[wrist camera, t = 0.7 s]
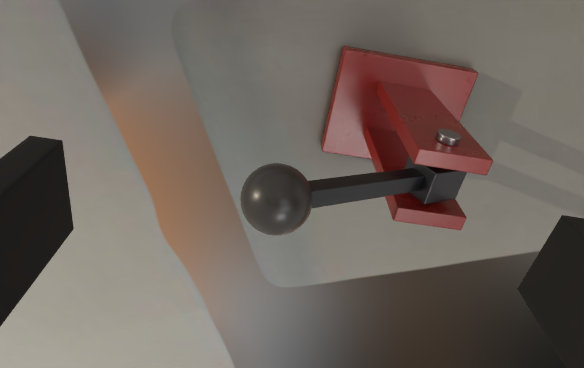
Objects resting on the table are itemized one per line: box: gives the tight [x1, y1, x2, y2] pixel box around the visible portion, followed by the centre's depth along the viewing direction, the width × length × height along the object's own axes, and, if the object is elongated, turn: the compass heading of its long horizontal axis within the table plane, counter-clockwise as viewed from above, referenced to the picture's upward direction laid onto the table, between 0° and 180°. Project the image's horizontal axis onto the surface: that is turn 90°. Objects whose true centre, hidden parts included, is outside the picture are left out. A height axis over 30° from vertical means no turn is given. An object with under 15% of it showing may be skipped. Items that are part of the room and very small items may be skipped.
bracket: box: [321, 46, 493, 230], centre depth 31 cm, size 11×9×14 cm
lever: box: [241, 156, 467, 235], centre depth 24 cm, size 14×4×4 cm, turn 80°
